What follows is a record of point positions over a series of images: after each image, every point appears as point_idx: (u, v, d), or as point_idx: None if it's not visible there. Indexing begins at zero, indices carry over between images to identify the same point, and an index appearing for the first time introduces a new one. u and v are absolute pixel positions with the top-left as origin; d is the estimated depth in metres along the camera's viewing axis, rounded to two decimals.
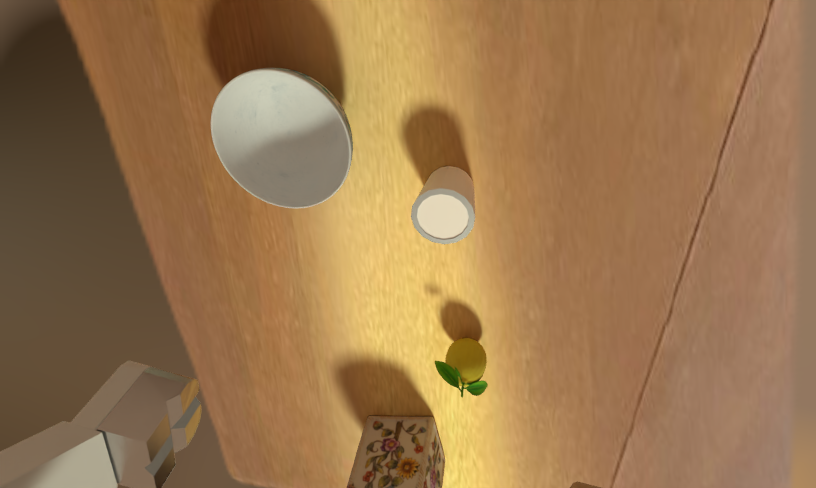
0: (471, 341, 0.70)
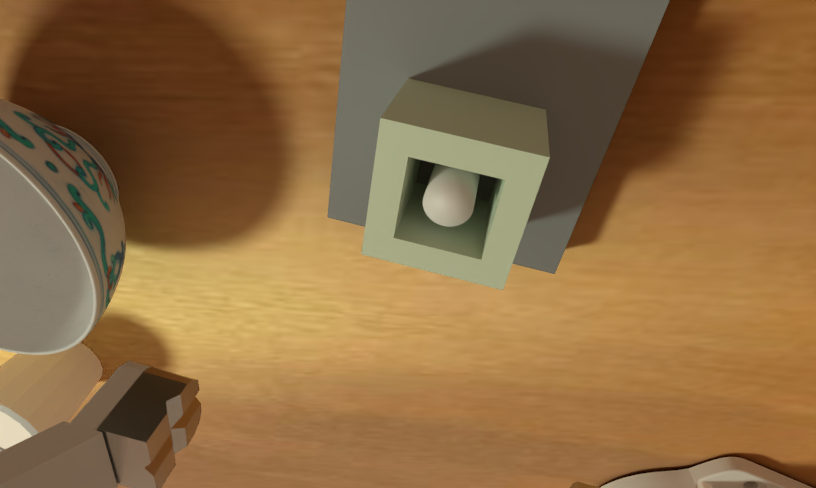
0: None
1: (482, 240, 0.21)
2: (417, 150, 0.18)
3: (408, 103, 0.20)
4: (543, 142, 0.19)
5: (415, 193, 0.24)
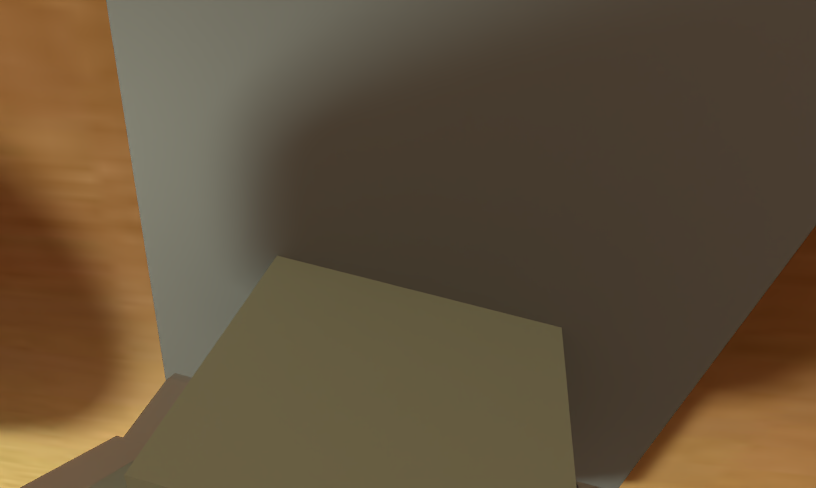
0: None
1: None
2: None
3: (240, 368, 0.08)
4: None
5: None
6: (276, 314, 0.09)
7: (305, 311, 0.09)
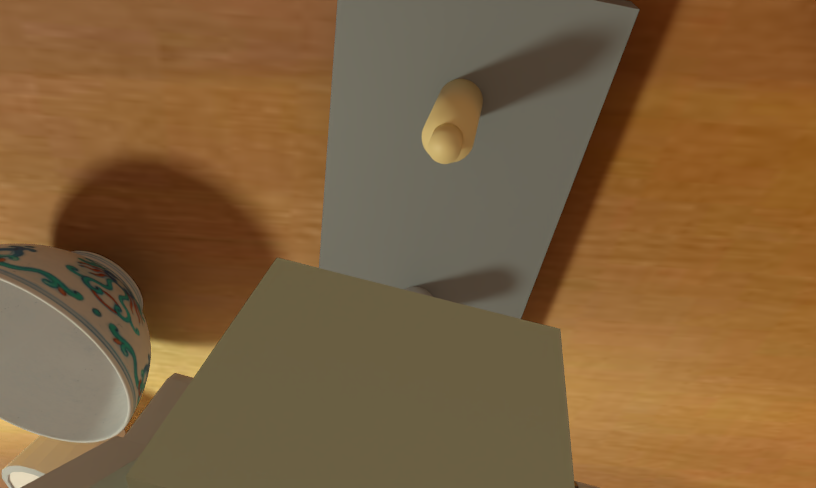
0: None
1: None
2: None
3: (240, 370, 0.08)
4: None
5: None
6: (276, 316, 0.09)
7: (305, 313, 0.10)
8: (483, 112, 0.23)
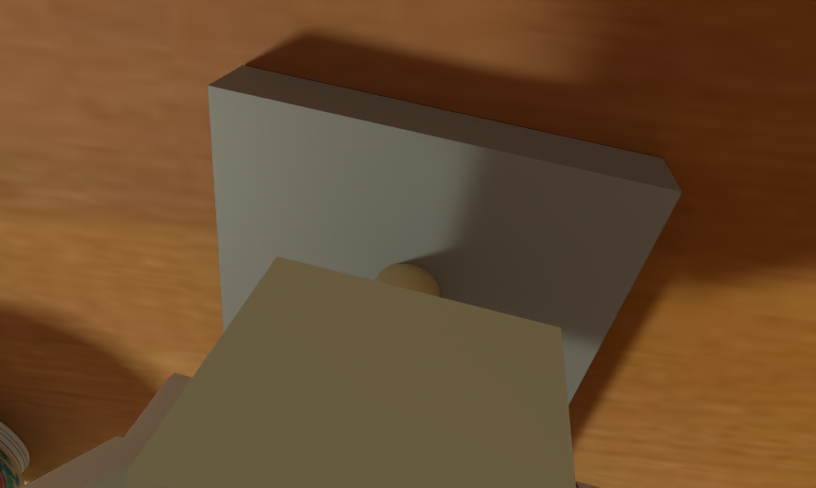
0: None
1: None
2: None
3: (240, 368, 0.08)
4: None
5: None
6: (276, 314, 0.09)
7: (305, 311, 0.10)
8: None
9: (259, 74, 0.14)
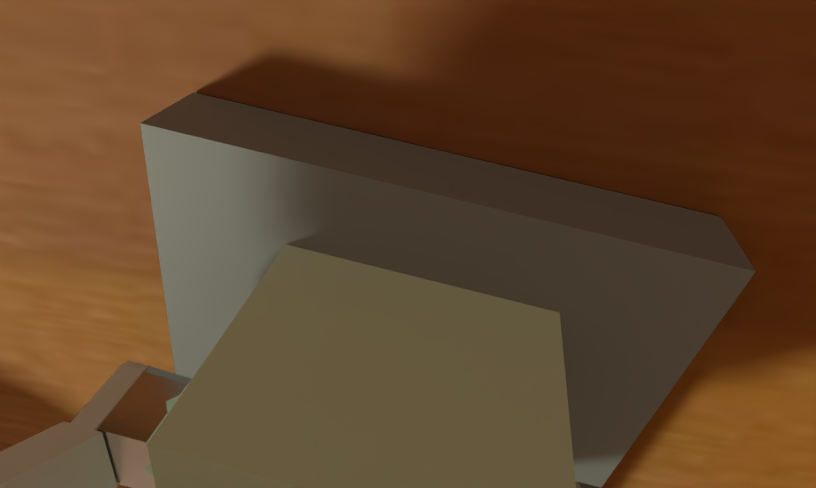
0: None
1: None
2: None
3: (253, 348, 0.09)
4: (562, 474, 0.08)
5: None
6: (286, 299, 0.10)
7: (313, 296, 0.10)
8: None
9: (212, 105, 0.11)
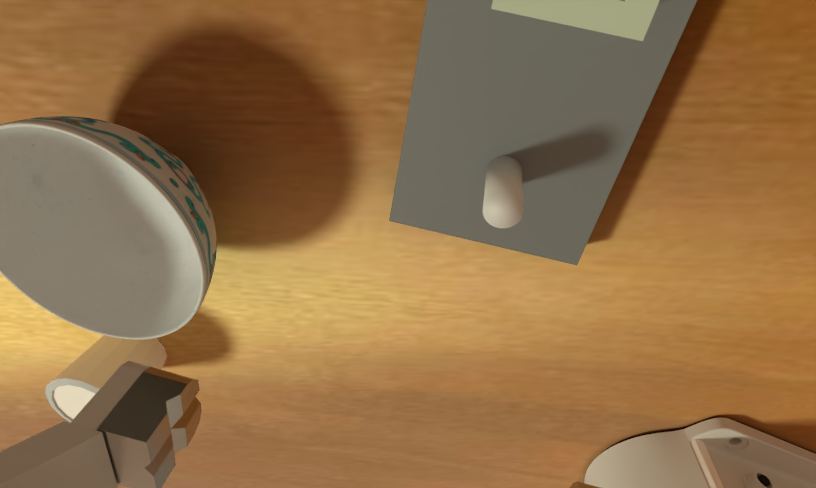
0: None
1: None
2: None
3: None
4: None
5: None
6: None
7: None
8: None
9: None
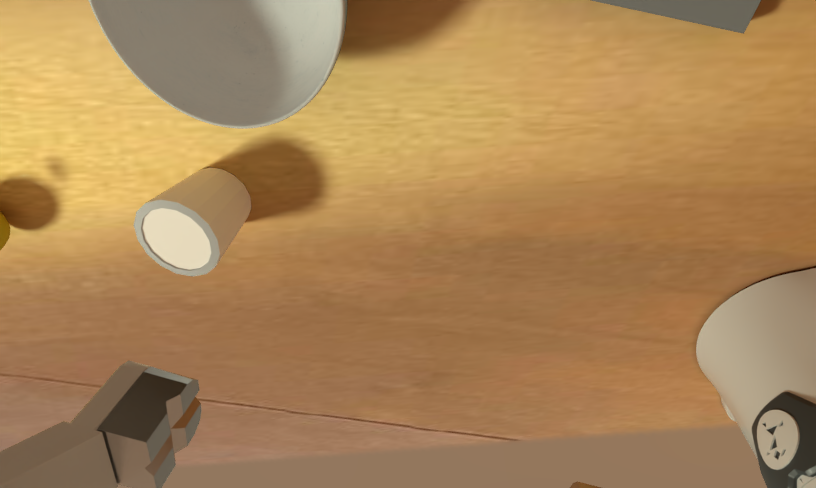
0: (5, 232, 0.48)
1: None
2: None
3: None
4: None
5: None
6: None
7: None
8: None
9: None
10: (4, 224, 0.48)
